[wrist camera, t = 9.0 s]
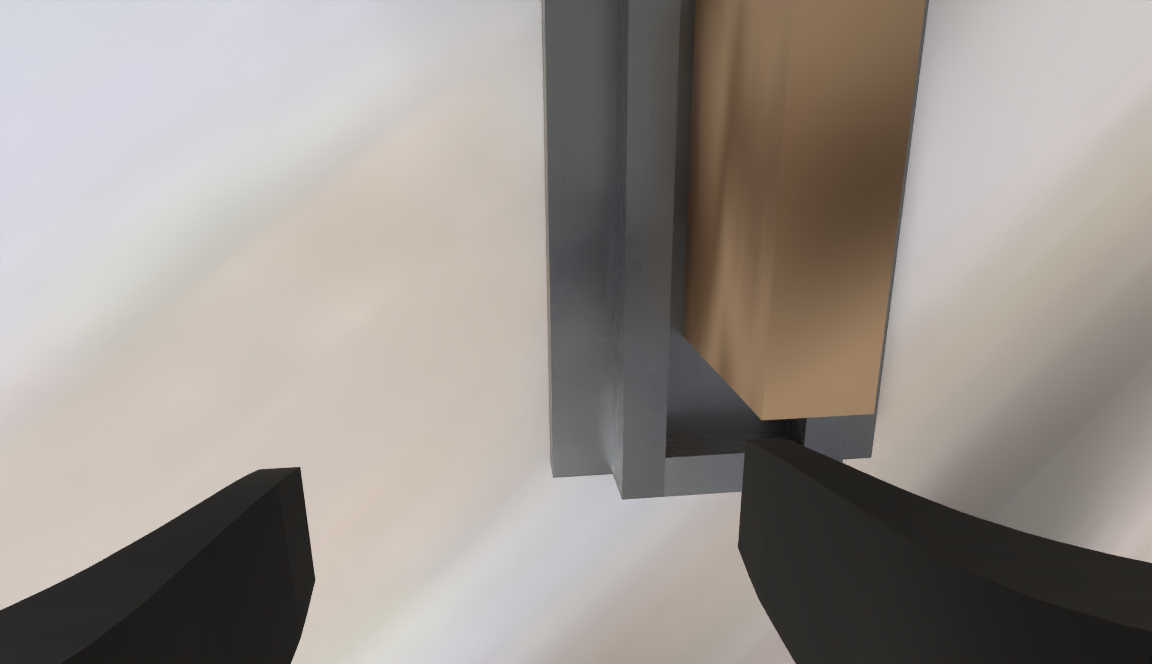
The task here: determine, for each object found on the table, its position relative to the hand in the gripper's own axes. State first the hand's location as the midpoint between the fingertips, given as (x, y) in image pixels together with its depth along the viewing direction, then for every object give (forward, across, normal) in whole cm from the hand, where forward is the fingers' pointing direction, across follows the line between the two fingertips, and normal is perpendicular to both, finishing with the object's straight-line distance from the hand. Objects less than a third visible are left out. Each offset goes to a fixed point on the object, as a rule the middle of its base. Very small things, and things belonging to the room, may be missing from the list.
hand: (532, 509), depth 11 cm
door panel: (+8, -6, -5) cm, 11 cm away
